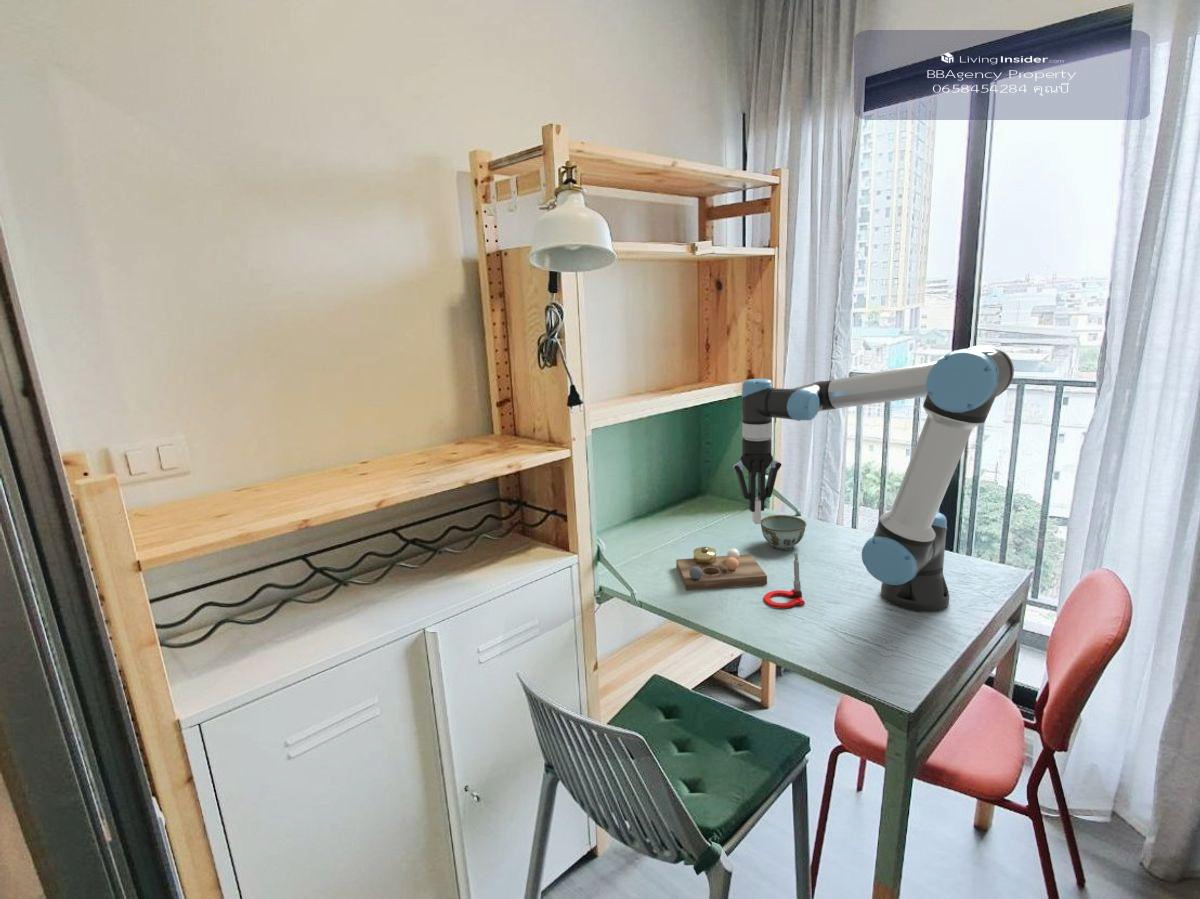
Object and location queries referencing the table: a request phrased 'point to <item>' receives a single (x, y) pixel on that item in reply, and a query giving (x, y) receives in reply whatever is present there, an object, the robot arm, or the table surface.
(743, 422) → the robot arm
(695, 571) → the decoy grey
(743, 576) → the brown wooden flat board
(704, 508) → the table surface
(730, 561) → the ball
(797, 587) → the tow hook
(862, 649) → the table surface
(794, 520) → the bowl
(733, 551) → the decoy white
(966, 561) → the table surface
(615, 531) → the table surface
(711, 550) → the cover
